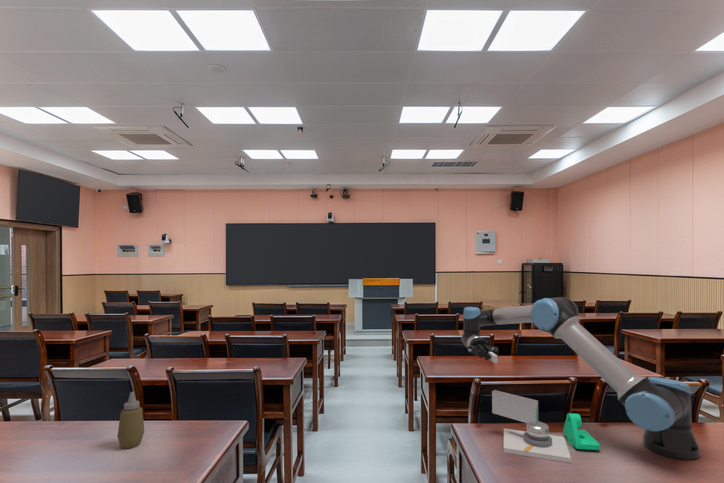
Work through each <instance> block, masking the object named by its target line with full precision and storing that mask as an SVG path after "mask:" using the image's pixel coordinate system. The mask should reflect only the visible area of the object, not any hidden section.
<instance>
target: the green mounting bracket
mask: <svg viewBox="0 0 724 483" xmlns="http://www.w3.org/2000/svg"><path fill="white" fill-rule="evenodd" d="M582 426H583V423H582V418H581V415H580V414H579V413H570V412H568V413H567V414H566V419H565V421H564V425H563V429H562V430H563V434H564V437H566V439H567V442H568V443H569V444H570V445H571V447H575V449H577V450H590V451H591V450H593V451H594V450H595V451H600V449H601V446H600V445H601V444H600V443H599V442H598V441H597V440H596V439H595V437H593V436H592V435H591V434H590V433H589V432H588V431H587V430H585V429H578V428H582Z"/></svg>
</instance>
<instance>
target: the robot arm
mask: <svg viewBox="0 0 724 483" xmlns="http://www.w3.org/2000/svg"><path fill="white" fill-rule="evenodd" d="M462 317H463V322H462V324H463V333H462V335H461V342H462V344H463V346H464V347H465V348H467V353H469V354H472V355H474V356H476V357H478V358H480V359H482V358H484V360H485V361H488V360H489V361H490V362H492V363H493V364H498V361H499V347H498V346H491V345H489V343H488V342H487V341H486V339H483V338H482V337H481V327H486V326H498V325H510V324H513V325H515V324H525V323H526V324H527V323H528V324H529V323H530V324H531V323H532V324H533V325H534V326H535V327H536V328H537V329H539V330H541V331H547V332H548V333H549V334H550V335H551V336H552V337H553V338H554V339H557V340H558V339H561V340H562V341H563V342H564V343H565V344H567V346H568V347H569V348H570V349H572V351H574V353H575V354H577V355H578V356H579V357H580V358H581V359H582V361H583V362H585V363H586V364H587V365H588V366H589V367H590V368H591V369H592V370H593V371H594V372H596V374H597V375H599V376H600V378H601V379H603V380H604V381H605V382H606V383H607V384H608V385H609V386H610V387H611V389H613V390H614V391H615V392H616V394H617V400H618V401H619V402H620V403H621V404H622V405H623V406H624V408H625V412H626V415H627V417H628V419H629V420H630V421H631V422H632V423H633V424H634V425H635V426H638V427H639V428H641V429H643V430H644V432H643V435H642V443H643V445H644V446H645V448H647V449H648V450H650V451H652V452H654V453H657V454H659V455H661V456H665V457H669V458H673V459H676V460H685V461H687V460H688V461H693V460H697V459H699V458H700V457H701V452H700V446H699V444H698V441H697V440H696V437H695V434H694V432H693V428H692V427H693V426H692V425H693V424H692V399H691V398H692V392H691V387H690V385H689V384H687V383H686V382H683V381H680V380H675V379H670V378H664V377H658V376H657V377H656V376H649V377H646V376H641V375H637V374H636V373H635V372H634V371H633V370H632V369H631V368H629V367H628V366H627V365H626V364H625V363H624V362H623V361H622V360H621V359H620V358H618V357H617V356H616V355H615V354H614V353H613V352H611V351H610V350H609V349H608V347H606V346H605V345H604V344H602V342H600V341H599V340H598V339H597V338H596V337H595V336H593V334H592V333H590V332H589V331H588V330H587V329H586V328H585V327H583V325H581V324H580V321H579V307H578V306H577V304H576V302H574V301H573V300H571V299H570V298H569V297H565V296H557V297H544V298H542V299H539V300H536V301H535V302H534V303H533V304H529V305H528V304H527V305H520V306H518V305H517V306H510V307H509V306H508V307H500V308H490V309H484V310H483V309H482V310H481V309H480V308H479V307H474V306H467V307H466V306H465V307H464V308H463V314H462Z"/></svg>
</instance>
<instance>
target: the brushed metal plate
mask: <svg viewBox="0 0 724 483" xmlns="http://www.w3.org/2000/svg"><path fill="white" fill-rule="evenodd" d="M491 405H492V407H491V409H492V410H491V413H492V414H493V415H498V416H501V417H505V418H507V419H512V420H515V421H519V422H521V423H525V424H526V425H525V426H526V433H527V436H528V437H529V438H531V439H534V440H539V441H545V440H548V439H549V435H550V432H549V425H548V424H546V423H545V422H542V421H540V420H539V400H536V399H532V398H529V397H524V396H520V395H516V394H512V393H510V392H509V393H508V392H505V391H500V390H497V389H494V390H492V391H491Z"/></svg>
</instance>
